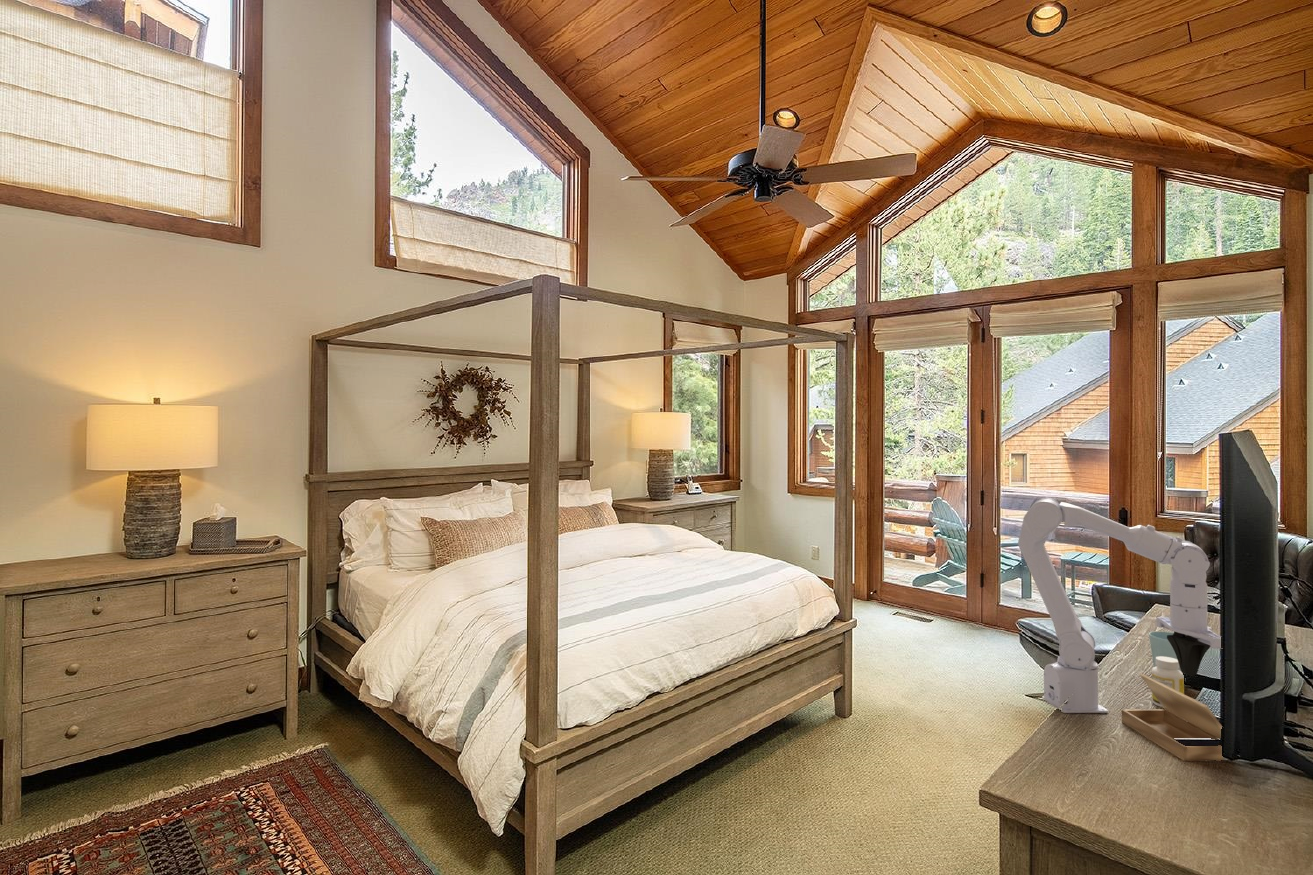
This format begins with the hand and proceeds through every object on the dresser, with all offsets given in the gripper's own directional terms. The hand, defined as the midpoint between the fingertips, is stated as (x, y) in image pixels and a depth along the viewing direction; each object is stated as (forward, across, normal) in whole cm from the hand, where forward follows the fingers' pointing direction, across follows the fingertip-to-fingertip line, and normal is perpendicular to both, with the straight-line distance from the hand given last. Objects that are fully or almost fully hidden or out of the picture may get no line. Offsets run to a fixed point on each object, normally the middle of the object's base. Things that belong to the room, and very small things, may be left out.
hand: (1189, 673), depth 130 cm
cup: (+11, +24, -15) cm, 30 cm away
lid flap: (+4, -6, +6) cm, 9 cm away
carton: (+10, -6, +8) cm, 14 cm away
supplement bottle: (+11, +10, -4) cm, 15 cm away
